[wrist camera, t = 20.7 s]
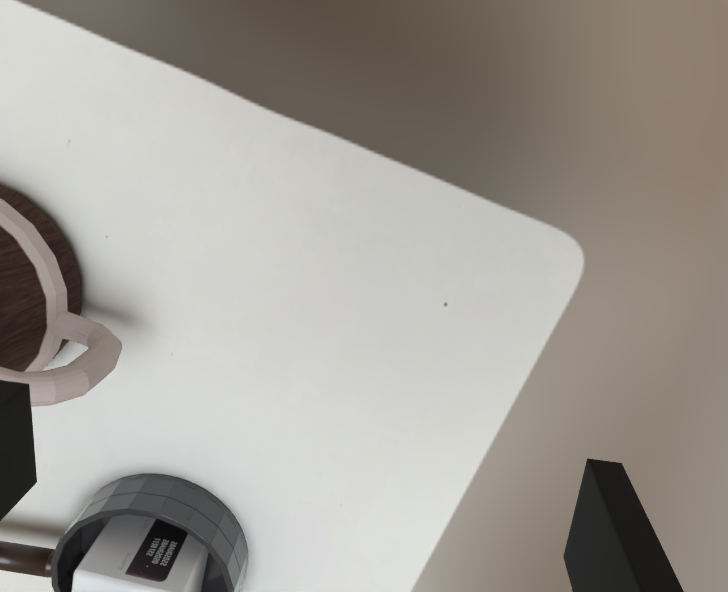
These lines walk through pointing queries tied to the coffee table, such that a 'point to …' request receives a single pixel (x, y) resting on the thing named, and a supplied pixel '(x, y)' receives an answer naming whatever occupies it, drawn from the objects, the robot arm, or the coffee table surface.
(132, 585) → the container
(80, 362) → the mug
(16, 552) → the pan handle
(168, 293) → the coffee table surface
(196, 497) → the pan
